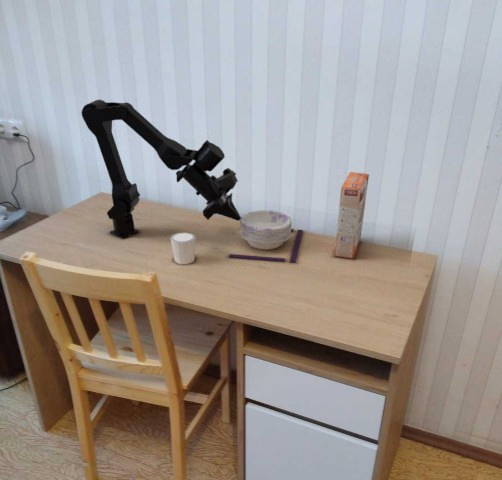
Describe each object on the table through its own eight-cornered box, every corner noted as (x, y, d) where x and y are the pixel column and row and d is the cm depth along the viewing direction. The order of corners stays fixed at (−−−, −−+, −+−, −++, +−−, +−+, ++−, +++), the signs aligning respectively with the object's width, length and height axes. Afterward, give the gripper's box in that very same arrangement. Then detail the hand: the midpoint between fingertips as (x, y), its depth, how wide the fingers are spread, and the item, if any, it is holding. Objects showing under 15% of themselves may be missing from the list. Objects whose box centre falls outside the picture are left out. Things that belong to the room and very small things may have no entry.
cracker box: (354, 259, 151) (362, 188, 140) (333, 256, 153) (339, 186, 142) (362, 240, 162) (370, 172, 151) (342, 237, 164) (348, 170, 153)
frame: (228, 257, 152) (228, 256, 152) (243, 226, 171) (243, 225, 171) (295, 262, 150) (295, 261, 149) (302, 231, 168) (302, 229, 168)
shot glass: (172, 254, 154) (171, 232, 150) (196, 253, 155) (195, 231, 151) (171, 265, 148) (169, 242, 145) (196, 264, 149) (195, 241, 145)
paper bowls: (297, 237, 164) (298, 213, 160) (280, 258, 152) (280, 232, 148) (252, 229, 169) (252, 206, 165) (231, 248, 157) (231, 223, 153)
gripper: (211, 173, 142) (253, 213, 146) (226, 153, 158) (263, 191, 162) (185, 199, 148) (226, 238, 152) (202, 178, 163) (239, 214, 167)
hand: (239, 219), depth 158 cm, fingers closed, pressing on paper bowls
